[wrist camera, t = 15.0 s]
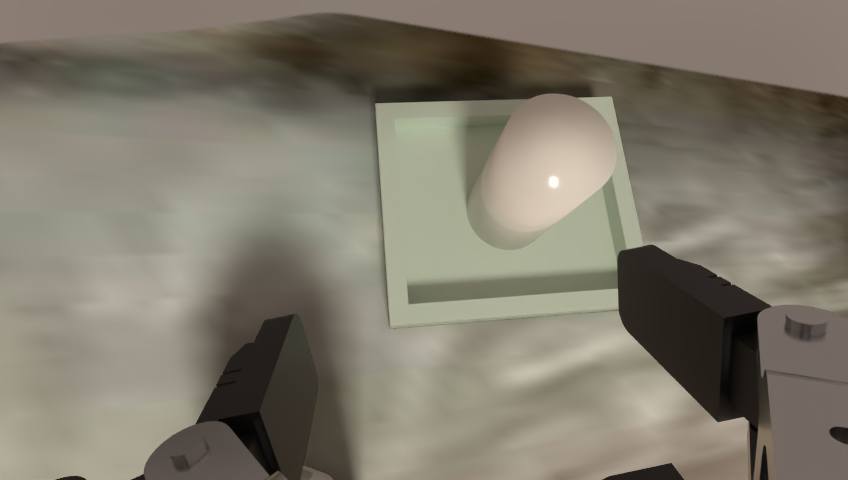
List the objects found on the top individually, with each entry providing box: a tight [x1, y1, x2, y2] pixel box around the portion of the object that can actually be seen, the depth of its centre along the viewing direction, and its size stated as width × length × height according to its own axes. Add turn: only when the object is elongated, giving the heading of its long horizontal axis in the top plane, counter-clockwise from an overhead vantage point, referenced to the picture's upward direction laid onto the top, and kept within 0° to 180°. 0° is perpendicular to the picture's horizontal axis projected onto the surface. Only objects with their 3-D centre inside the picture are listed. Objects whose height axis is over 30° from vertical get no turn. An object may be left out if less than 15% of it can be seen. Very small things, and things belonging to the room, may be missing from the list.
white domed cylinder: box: [467, 94, 617, 250], centre depth 27 cm, size 6×6×10 cm
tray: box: [375, 97, 643, 329], centre depth 32 cm, size 17×15×2 cm
